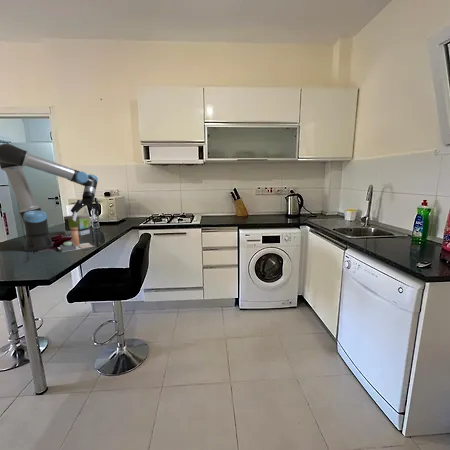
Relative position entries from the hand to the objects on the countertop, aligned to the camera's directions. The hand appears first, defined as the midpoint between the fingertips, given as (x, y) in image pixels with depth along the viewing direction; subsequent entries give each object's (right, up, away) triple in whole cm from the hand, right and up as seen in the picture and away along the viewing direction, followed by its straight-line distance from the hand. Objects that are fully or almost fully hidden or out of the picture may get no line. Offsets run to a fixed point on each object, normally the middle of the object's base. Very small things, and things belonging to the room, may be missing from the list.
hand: (83, 219), depth 180 cm
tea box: (-21, -11, +32) cm, 40 cm away
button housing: (0, -19, -18) cm, 27 cm away
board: (+2, -19, -13) cm, 22 cm away
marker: (0, -17, -9) cm, 19 cm away
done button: (0, -17, -19) cm, 25 cm away
